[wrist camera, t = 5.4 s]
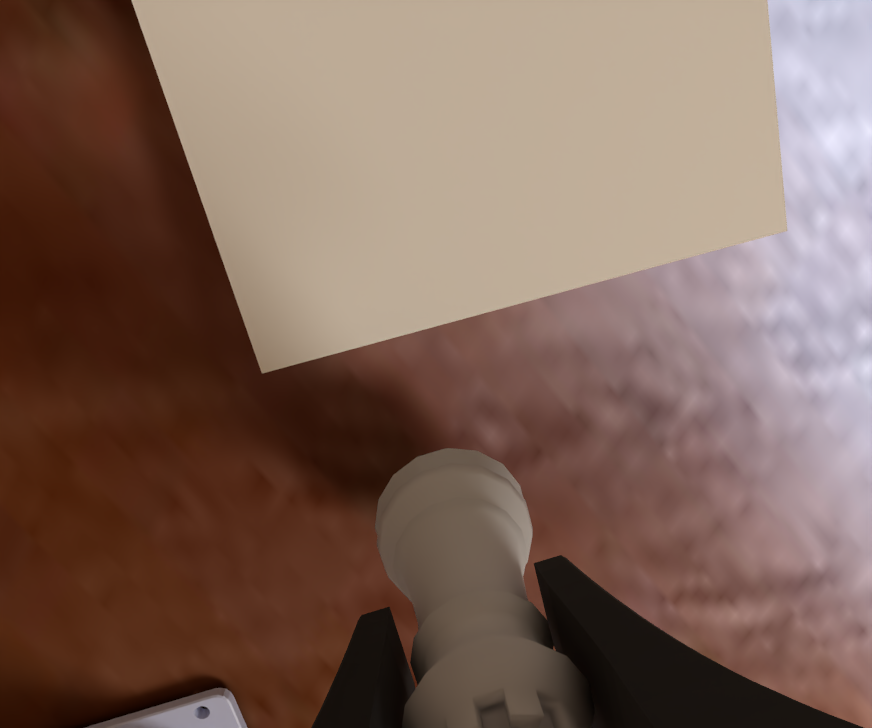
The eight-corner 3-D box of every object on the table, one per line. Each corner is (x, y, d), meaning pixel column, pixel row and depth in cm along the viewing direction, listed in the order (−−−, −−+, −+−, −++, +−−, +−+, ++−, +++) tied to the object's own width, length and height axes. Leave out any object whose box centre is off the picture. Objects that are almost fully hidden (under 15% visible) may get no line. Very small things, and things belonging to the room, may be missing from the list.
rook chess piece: (416, 599, 16) (444, 940, 8) (348, 484, 15) (302, 746, 7) (544, 536, 16) (698, 817, 8) (484, 415, 15) (594, 602, 7)
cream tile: (273, 362, 16) (261, 373, 14) (137, -34, 13) (107, -70, 12) (750, 233, 16) (787, 230, 15) (709, -165, 14) (748, -214, 12)
